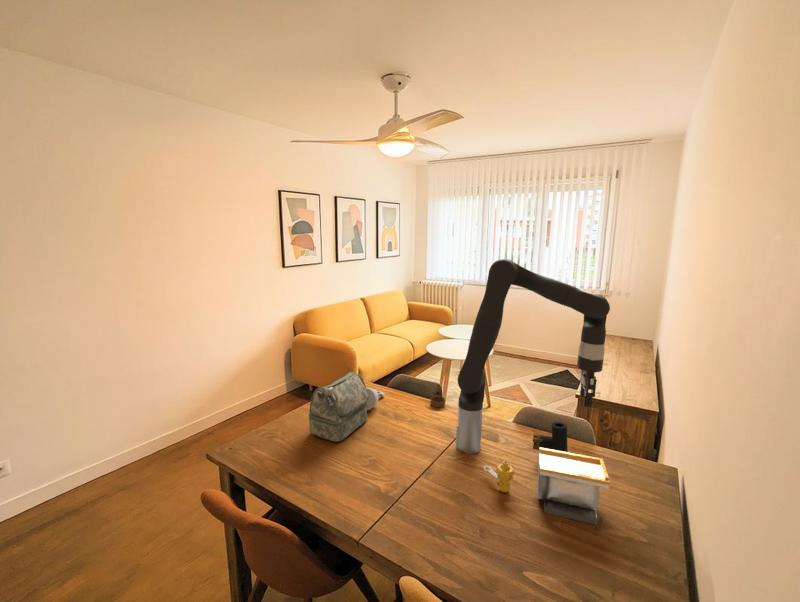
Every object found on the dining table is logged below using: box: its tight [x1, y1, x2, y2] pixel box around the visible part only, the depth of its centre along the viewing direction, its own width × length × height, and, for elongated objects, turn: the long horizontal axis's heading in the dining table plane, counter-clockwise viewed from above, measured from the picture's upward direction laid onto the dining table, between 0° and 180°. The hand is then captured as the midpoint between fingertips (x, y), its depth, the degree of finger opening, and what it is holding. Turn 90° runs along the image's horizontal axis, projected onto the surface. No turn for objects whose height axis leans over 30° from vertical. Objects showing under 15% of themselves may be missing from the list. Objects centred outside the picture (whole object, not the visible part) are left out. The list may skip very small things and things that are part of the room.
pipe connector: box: [532, 421, 569, 453], centre depth 133 cm, size 12×5×15 cm, turn 65°
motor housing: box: [536, 447, 611, 526], centre depth 111 cm, size 18×12×14 cm, turn 70°
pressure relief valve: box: [483, 460, 515, 493], centre depth 121 cm, size 6×12×10 cm, turn 27°
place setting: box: [425, 384, 447, 412], centre depth 182 cm, size 18×20×6 cm
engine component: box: [366, 387, 386, 411], centre depth 182 cm, size 11×20×10 cm, turn 171°
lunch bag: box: [308, 371, 369, 443], centre depth 157 cm, size 26×18×22 cm
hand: (585, 401), depth 124 cm, fingers open, 8 cm apart
